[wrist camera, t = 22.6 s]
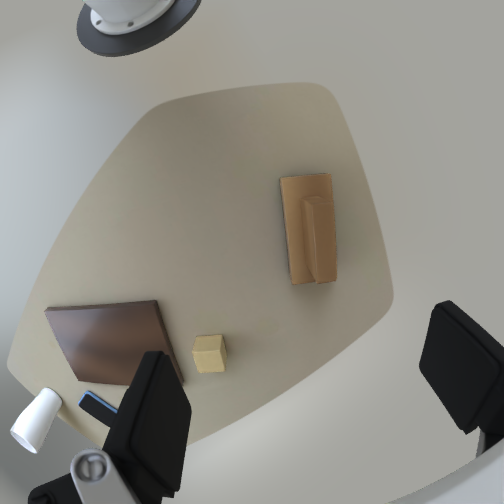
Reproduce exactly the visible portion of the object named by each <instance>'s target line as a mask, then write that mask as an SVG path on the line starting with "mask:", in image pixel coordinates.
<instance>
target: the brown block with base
mask: <svg viewBox="0 0 504 504" xmlns="http://www.w3.org/2000/svg"><path fill="white" fill-rule="evenodd" d="M279 181H280V189H281V197H282V206H283V214H284V223H285V233H286V242H287V252H288V263H289V273H290V279H291V282H292V285H296V284H303V283H309V282H316V283H317V284H320V283H326V282H333V281H336V278H337V256H336V234H335V217H334V203H333V191H332V181H331V174H328V173H323V174H311V175H301V176H291V177H282V178H279Z"/></svg>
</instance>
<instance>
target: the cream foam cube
mask: <svg viewBox="0 0 504 504" xmlns="http://www.w3.org/2000/svg"><path fill="white" fill-rule="evenodd" d="M192 354H193V357H194V360H195V363H196V366H197V369H198V372H199V373H209V372H224V371H225V370H226V359H227V353H226V349H225V344H224V340H223V336H222V334H221V335H210V336H198V337H196V339H195V343H194V347H193V351H192Z"/></svg>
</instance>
